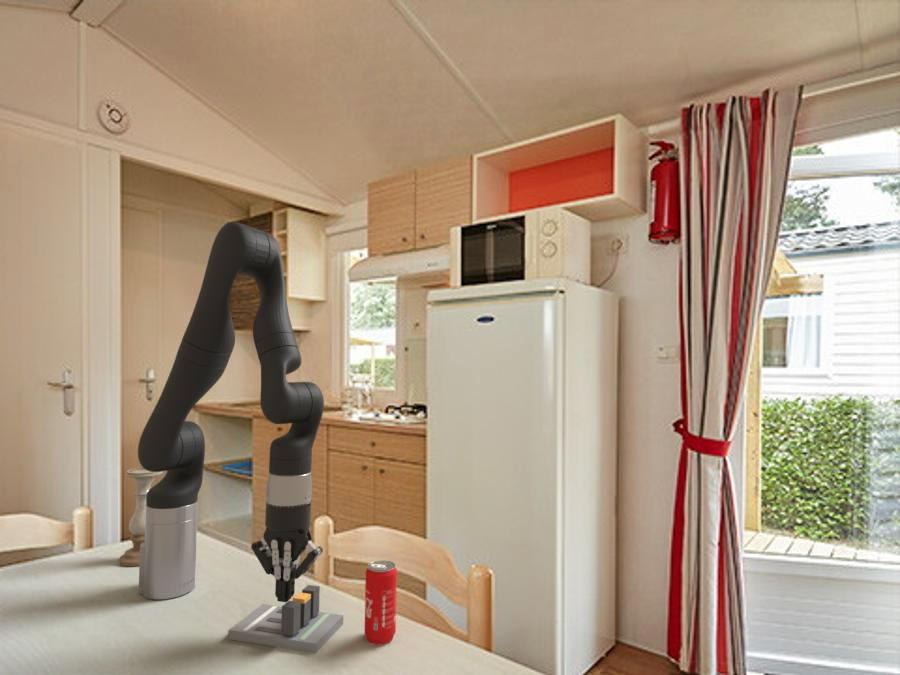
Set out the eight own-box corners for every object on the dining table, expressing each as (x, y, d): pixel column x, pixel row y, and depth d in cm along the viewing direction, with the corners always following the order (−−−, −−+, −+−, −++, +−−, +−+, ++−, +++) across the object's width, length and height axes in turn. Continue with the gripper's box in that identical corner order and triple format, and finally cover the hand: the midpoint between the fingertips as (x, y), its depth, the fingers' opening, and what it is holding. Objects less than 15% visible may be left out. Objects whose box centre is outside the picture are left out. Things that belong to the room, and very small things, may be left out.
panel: (228, 639, 91) (228, 629, 91) (262, 612, 101) (262, 603, 101) (316, 653, 87) (316, 642, 87) (343, 623, 97) (343, 614, 97)
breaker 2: (292, 625, 93) (292, 597, 93) (298, 619, 95) (299, 592, 95) (303, 626, 92) (304, 599, 92) (310, 620, 94) (310, 594, 94)
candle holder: (171, 555, 128) (174, 467, 129) (140, 569, 120) (143, 475, 121) (142, 550, 131) (145, 465, 132) (109, 563, 123) (113, 472, 123)
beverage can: (390, 647, 89) (391, 572, 90) (359, 644, 90) (361, 569, 91) (399, 632, 94) (400, 561, 95) (370, 628, 95) (372, 558, 96)
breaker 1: (281, 634, 89) (281, 606, 90) (288, 628, 91) (288, 600, 92) (293, 636, 89) (294, 608, 89) (300, 629, 91) (300, 602, 91)
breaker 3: (301, 616, 96) (302, 589, 96) (307, 610, 98) (308, 584, 98) (313, 617, 95) (313, 591, 95) (319, 612, 97) (319, 586, 98)
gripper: (242, 499, 93) (237, 603, 92) (313, 507, 89) (308, 616, 89) (267, 489, 100) (263, 585, 99) (334, 496, 97) (330, 596, 96)
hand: (284, 599), depth 94 cm, fingers closed
